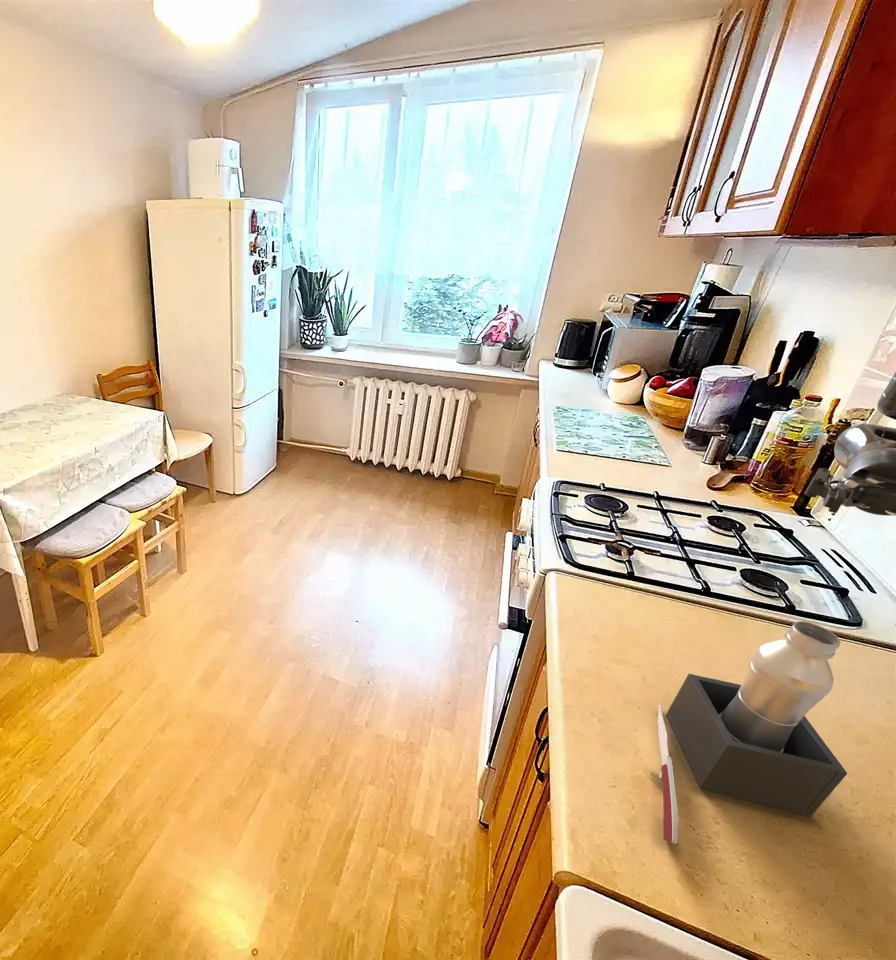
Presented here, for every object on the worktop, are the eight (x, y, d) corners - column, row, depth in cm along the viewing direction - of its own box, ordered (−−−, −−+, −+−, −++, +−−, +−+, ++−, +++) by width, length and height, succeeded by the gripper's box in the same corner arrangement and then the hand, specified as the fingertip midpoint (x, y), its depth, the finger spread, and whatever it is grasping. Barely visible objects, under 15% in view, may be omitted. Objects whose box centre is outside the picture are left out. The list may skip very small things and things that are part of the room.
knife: (675, 856, 54) (687, 839, 53) (661, 849, 55) (672, 832, 53) (659, 714, 70) (667, 699, 68) (647, 710, 70) (656, 694, 69)
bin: (759, 737, 67) (789, 694, 63) (810, 817, 58) (848, 773, 54) (665, 715, 70) (688, 673, 66) (699, 788, 61) (728, 744, 57)
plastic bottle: (717, 775, 61) (802, 650, 52) (690, 727, 67) (761, 607, 58) (782, 789, 60) (880, 663, 51) (748, 739, 66) (830, 617, 57)
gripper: (828, 439, 75) (820, 471, 65) (984, 473, 66) (1003, 515, 56) (802, 485, 78) (791, 522, 68) (947, 523, 69) (959, 572, 59)
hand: (886, 519), depth 62 cm, fingers open, 8 cm apart
